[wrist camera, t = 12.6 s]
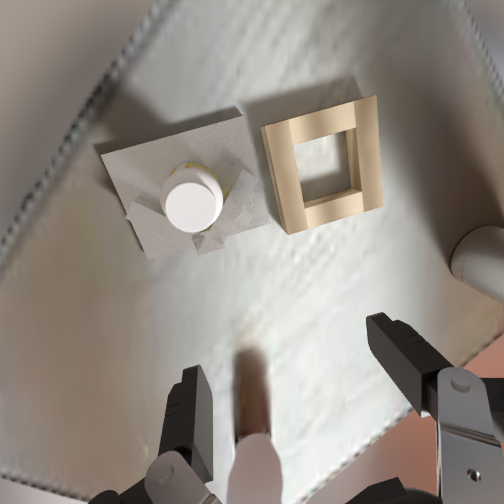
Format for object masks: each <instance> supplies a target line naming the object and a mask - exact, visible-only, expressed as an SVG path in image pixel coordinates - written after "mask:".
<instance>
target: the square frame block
mask: <svg viewBox="0 0 504 504" xmlns="http://www.w3.org/2000/svg"><path fill="white" fill-rule="evenodd" d="M260 129H261V134H262V138H263V143H264V147H265V152H266V156H267V161H268V165H269V170H270V174H271V179H272V184H273V188H274V193H275V197H276V202H277V206H278V211H279V215H280V220H281V224H282V229H283V230H284V231H285V232H286V233H287V234H288V235H290V234H293V233H296V232H300V231H303V230H306V229H310V228H313V227H316V226H319V225H323V224H326V223H329V222H333V221H336V220H339V219H342V218H346V217H349V216H352V215H356V214H359V213H362V212H365V211H369V210H372V209H375V208H379V207H382V206H383V194H382V177H381V161H380V144H379V128H378V112H377V95H374V96H370V97H366V98H363V99H359V100H355V101H352V102H348V103H345V104H341V105H338V106H334V107H330V108H327V109H323V110H320V111H316V112H313V113H309V114H306V115H302V116H298V117H295V118H291V119H288V120H284V121H281V122H277V123H273V124H270V125H266V126H263V127H260ZM342 131H345V134H346V143H347V153H348V162H349V171H350V181H351V188H350V189H347V190H344V191H340V192H337V193H334V194H330V195H327V196H324V197H320V198H317V199H313V200H310V201H307V202H303V197H302V192H301V186H300V181H299V175H298V169H297V164H296V158H295V153H294V147H293V145H296V144H300V143H303V142H307V141H310V140H314V139H317V138H321V137H324V136H328V135H331V134H335V133H338V132H342Z"/></svg>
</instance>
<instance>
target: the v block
mask: <svg viewBox="0 0 504 504" xmlns="http://www.w3.org/2000/svg"><path fill="white" fill-rule="evenodd" d="M101 157H102V159H103V162H104V164H105V166H106V168H107V170H108V173H109V175H110V177H111V179H112V181H113V184H114V186H115V188H116V190H117V192H118V195H119V197H120V199H121V201H122V203H123V206H124V208H125V210H126V212H127V215H126V218H125V219H127V220H130V221H131V223H132V225H133V228H134V230H135V232H136V234H137V236H138V239H139V241H140V243H141V245H142V247H143V250H144V252H145V254H146V256H147V258H148V260H150V259H153V258H157V257H160V256H163V255H167V254H170V253H173V252H177V251H180V250H183V249H186V248H191V249H193V250H195V251H197V253H198V255H201V254H205V253H208V252H211V251H215V250H218V249H221V248H224V241H225V239H226V237H227V236H230V235H233V234H236V233H240V232H243V231H246V230H250V229H253V228H256V227H260V226H263V225H266V224H270V220H269V216H268V212H267V207H266V203H265V199H264V195H263V191H262V186H261V182H260V178H259V174H258V170H257V166H256V161H255V157H254V153H253V149H252V145H251V140H250V136H249V132H248V128H247V124H246V119H245V115H244V116H240V117H236V118H233V119H229V120H226V121H222V122H218V123H215V124H211V125H208V126H204V127H200V128H197V129H193V130H190V131H186V132H182V133H179V134H175V135H172V136H168V137H164V138H161V139H157V140H154V141H150V142H146V143H143V144H139V145H136V146H132V147H128V148H125V149H121V150H117V151H114V152H110V153H107V154H103V155H101ZM188 162H196V163H200V164H202V165H204V166H206V167H207V168H209V169H210V170H211V171H212V172H213V174H214V175H215V177H216V179H217V181H218V183H219V186H220V188H221V191H222V195H223V205H222V210H221V212H220V214H219V216H218V218H217V219H216V220H215V221H214V222H213V223H212V224H211V225H210V226H208V227H207V228H206V229H204V230H202V231H199V232H185V231H182V230H180V229H178V228H176V227H175V226H174V225H173V224H172V223H171V222H170V221H169V219H168V218H167V217H166V215H165V214H164V212H163V210H162V207H161V203H160V192H161V188H162V186H163V183H164V182H165V180H166V179H167V177H168V176H169V175H170V174H171V172H172V171H173V170H174V169H175V168H176V167H178V166H179V165H181V164H184V163H188Z"/></svg>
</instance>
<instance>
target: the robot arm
mask: <svg viewBox="0 0 504 504" xmlns="http://www.w3.org/2000/svg"><path fill="white" fill-rule="evenodd" d="M451 271H452V274H453V275H454V277H455V278H456V279H458V280H459V281H461V282H463V283H464V284H466V285H468V286H470V287H472V288H473V289H475V290H477V291H479V292H481V293H482V294H484V295H486V296H488V297H490V298H491V299H493V300H495V301H497V302H499V303H501V304H502V305H504V228H501V227H497V226H492V225H489V226H483V227H480V228H477V229H475V230H473V231H472V232H470V233H469V234H468V235H466V236H465V237H464V238H463V239H462V240H461V242H460V243H459V244H458V246H457V247H456V249H455V251H454V253H453V256H452V259H451ZM366 326H367V337H368V344H369V347H370V350H371V352H372V353H373V355H374V356H375V358H376V359H377V360H378V362H379V363H380V364H381V366H382V367H383V368H384V369H385V371H386V372H387V373H388V375H389V376H390V377H391V379H392V380H393V381H394V383H395V384H396V385H397V387H398V388H399V389H400V391H401V392H402V393H403V394H404V396H405V397H406V398H407V400H408V401H409V402H410V404H411V405H412V406H413V408H414V409H415V410H416V412H417V413H418V414H419V416H420V417H421V418H422V417H426V416H429V415H431V416H432V417H433V418H434V420H435V421H436V449H437V450H436V451H437V496H435V495H433V494H431V493H429V492H426V491H423V490H419V489H416V488H409V487H403V485H402V483H401V482H400V480H399V478H398V477H396V478H393V479H389V480H386V481H383V482H380V483H377V484H373V485H371V486H368V487H367V488H366V489H364V490H363V491H362V492H360V493H359V494H358V495H356V496H355V497H354V498H353V499H351V500H350V501H348V502H347V503H345V504H504V455H503V450H502V447H501V443H504V378H480V377H478V376H477V375H475V374H474V373H472V372H470V371H468V370H465V369H463V368H458V367H454V366H453V365H452V364H451V363H450V362H449V361H448V360H447V359H445V358H444V357H443V356H442V355H441V354H440V353H439V352H438V351H437V350H436V349H435V348H434V347H432V346H431V345H430V344H429V343H428V342H427V341H425V339H424V338H423V337H422V336H421V335H419V334H418V333H417V332H416V331H415V330H414V329H413V328H412V327H411V326H410V325H408V324H406V323H404V322H402V321H400V320H395V321H392V320H391V319H390V318H389V317H388V316H387V315H386V314H385V313H383V312H381V313H377V314H374V315H370V316H367V317H366ZM166 407H167V409H166V411H165V418H164V423H163V429H162V435H161V441H160V447H159V453H158V457H157V458H156V459H155V460H154V461H153V462H152V464H151V465H150V467H149V468H148V470H147V473H146V476H145V477H144V478H143V479H142V480H141V481H139V482H138V483H136V484H135V485H133V486H132V487H130V488H129V489H127V490H126V491H124V492H123V493H121V494H120V495H118V493H117V492H115V491H113V490H107V491H104V492H101V493H100V494H98V495H96V496H95V497H94V498H93V499H92V500H91V501H90V502H89V503H88V504H222V503H221V501H220V500H219V499H218V498H217V497H216V496H215V495H214V494H212V493H211V492H210V491H209V490H208V489H207V487H206V486H205V483H207V482H210V481H213V399H212V393H211V389H210V386H209V384H208V381H207V379H206V377H205V374H204V372H203V369H202V367H201V365H196V366H193V367H189V368H186V369H184V370H183V374H182V382H181V383H177V384H174V386H173V388H172V389H171V391H170V393H169V395H168V399H167V405H166Z"/></svg>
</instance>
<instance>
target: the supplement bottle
mask: <svg viewBox="0 0 504 504" xmlns="http://www.w3.org/2000/svg"><path fill="white" fill-rule="evenodd" d="M160 203H161V207H162V210H163V212H164V214H165V215H166V217H167V218H168V219H169V221H170V222H171V223H172V224H173V225H174V226H175V227H176V228H178V229H180V230H182V231H185V232H199V231H202V230H204V229H206V228H207V227H208V226H210V225H211V224H212V223H213V222H214V221H215V220H216V219H217V218H218V216H219V214H220V212H221V210H222V205H223V195H222V191H221V188H220V186H219V183H218V181H217V179H216V177H215V175H214V174H213V172H212V171H211V170H210V169H209V168H207V167H206V166H204V165H202V164H200V163H196V162H188V163H184V164H181V165H179V166H178V167H176V168H175V169H174V170H173V171H172V172H171V174H170V175H169V176H168V177H167V179H166V180H165V182H164V183H163V186H162V188H161V192H160Z"/></svg>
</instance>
